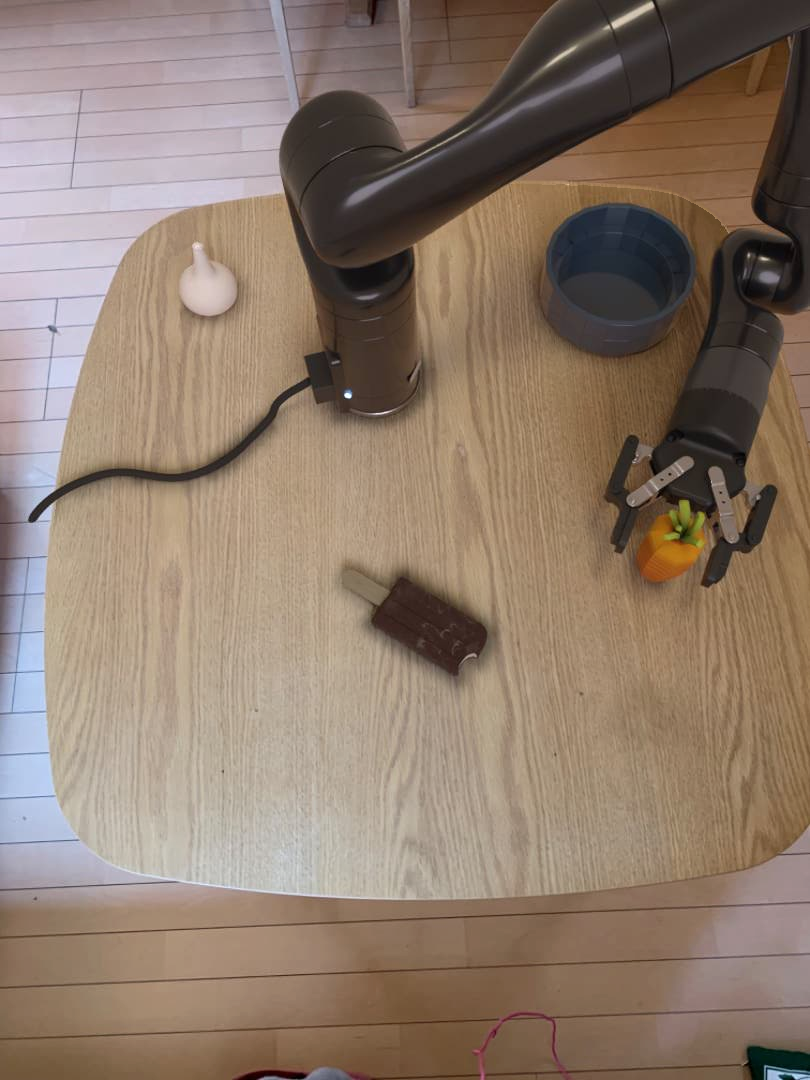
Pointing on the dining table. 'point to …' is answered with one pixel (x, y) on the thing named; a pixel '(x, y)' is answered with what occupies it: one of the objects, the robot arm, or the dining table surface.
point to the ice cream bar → (421, 621)
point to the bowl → (616, 278)
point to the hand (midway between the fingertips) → (663, 567)
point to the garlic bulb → (207, 285)
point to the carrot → (671, 544)
